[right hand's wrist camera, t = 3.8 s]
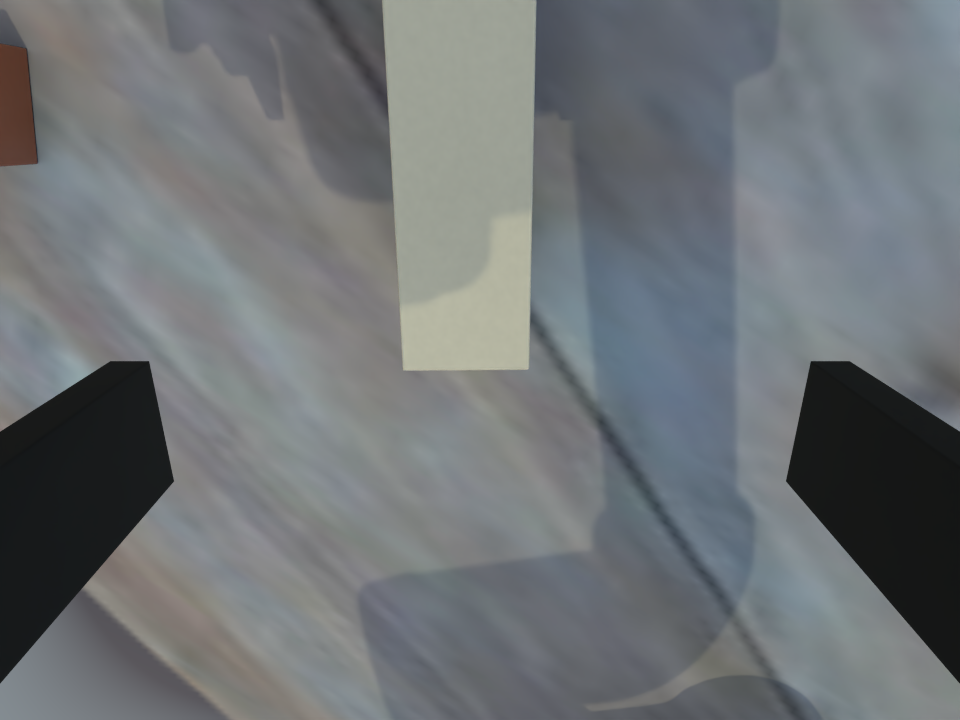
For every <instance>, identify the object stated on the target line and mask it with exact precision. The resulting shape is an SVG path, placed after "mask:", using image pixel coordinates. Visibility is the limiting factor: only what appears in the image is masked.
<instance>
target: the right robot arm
mask: <svg viewBox="0 0 960 720" xmlns="http://www.w3.org/2000/svg"><path fill="white" fill-rule="evenodd" d="M173 482H174V479H173V475H172V470H171V465H170V460H169V455H168V450H167V446H166V441H165V436H164V431H163V426H162V422H161V417H160V412H159V407H158V402H157V397H156V393H155V388H154V383H153V378H152V373H151V369H150V364H149V361H110V362H109V363H107V364H105V365H104V366H102V367H101V368H99V369H98V370H96V371H95V372H93V373H91V374H90V375H88V376H87V377H85V378H84V379H82V380H80V381H79V382H77V383H76V384H74V385H73V386H71V387H69V388H68V389H66V390H65V391H63V392H62V393H60V394H58V395H57V396H55V397H54V398H52V399H51V400H49V401H48V402H46V403H44V404H43V405H41V406H40V407H38V408H37V409H35V410H33V411H32V412H30V413H29V414H27V415H26V416H24V417H22V418H21V419H19V420H18V421H16V422H15V423H13V424H12V425H10V426H8V427H7V428H5V429H4V430H2V431H1V432H0V683H1V682H2V681H3V680H4V678H5V677H6V676H7V675H8V674H9V672H10V671H11V670H12V669H13V668H14V667H15V666H16V664H17V663H18V662H19V661H20V660H21V659H22V657H23V656H24V655H25V654H26V653H27V652H28V650H29V649H30V648H31V647H32V646H33V645H34V643H35V642H36V641H37V640H38V639H39V638H40V637H41V635H42V634H43V633H44V632H45V631H46V629H47V628H48V627H49V626H50V625H51V624H52V623H53V621H54V620H55V619H56V618H57V617H58V616H59V614H60V613H61V612H62V611H63V610H64V609H65V607H66V606H67V605H68V604H69V603H70V602H71V600H72V599H73V598H74V597H75V596H76V595H77V593H78V592H79V591H80V590H81V589H82V588H83V586H84V585H85V584H86V583H87V582H88V581H89V580H90V578H91V577H92V576H93V575H94V574H95V573H96V571H97V570H98V569H99V568H100V567H101V566H102V564H103V563H104V562H105V561H106V560H107V559H108V557H109V556H110V555H111V554H112V553H113V552H114V550H115V549H116V548H117V547H118V546H119V545H120V543H121V542H122V541H123V540H124V539H125V538H126V536H127V535H128V534H129V533H130V532H131V531H132V529H133V528H134V527H135V526H136V525H137V524H138V523H139V521H140V520H141V519H142V518H143V517H144V516H145V514H146V513H147V512H148V511H149V510H150V509H151V507H152V506H153V505H154V504H155V503H156V502H157V500H158V499H159V498H160V497H161V496H162V495H163V493H164V492H165V491H166V490H167V489H168V488H169V486H170V485H171V484H172V483H173ZM786 482H787V483H788V484H789V485H790V486H791V488H792V489H793V490H794V491H795V492H796V493H797V495H798V496H799V497H800V498H801V499H802V500H803V502H804V503H805V504H806V505H807V506H808V507H809V509H810V510H811V511H812V512H813V513H814V514H815V516H816V517H817V518H818V519H819V520H820V521H821V523H822V524H823V525H824V526H825V527H826V528H827V529H828V531H829V532H830V533H831V534H832V535H833V536H834V538H835V539H836V540H837V541H838V542H839V543H840V545H841V546H842V547H843V548H844V549H845V550H846V552H847V553H848V554H849V555H850V556H851V557H852V559H853V560H854V561H855V562H856V563H857V564H858V566H859V567H860V568H861V569H862V570H863V571H864V573H865V574H866V575H867V576H868V577H869V578H870V580H871V581H872V582H873V583H874V584H875V585H876V586H877V588H878V589H879V590H880V591H881V592H882V593H883V595H884V596H885V597H886V598H887V599H888V600H889V602H890V603H891V604H892V605H893V606H894V607H895V609H896V610H897V611H898V612H899V613H900V614H901V616H902V617H903V618H904V619H905V620H906V621H907V623H908V624H909V625H910V626H911V627H912V628H913V630H914V631H915V632H916V633H917V634H918V635H919V637H920V638H921V639H922V640H923V641H924V642H925V643H926V645H927V646H928V647H929V648H930V649H931V650H932V652H933V653H934V654H935V655H936V656H937V657H938V659H939V660H940V661H941V662H942V663H943V664H944V666H945V667H946V668H947V669H948V670H949V671H950V673H951V674H952V675H953V676H954V677H955V678H956V680H957V681H958V682H959V683H960V432H959V431H958V430H956V429H955V428H953V427H952V426H950V425H948V424H947V423H945V422H944V421H942V420H941V419H939V418H938V417H936V416H934V415H933V414H931V413H930V412H928V411H927V410H925V409H923V408H922V407H920V406H919V405H917V404H916V403H914V402H912V401H911V400H909V399H908V398H906V397H905V396H903V395H902V394H900V393H898V392H897V391H895V390H894V389H892V388H891V387H889V386H887V385H886V384H884V383H883V382H881V381H880V380H878V379H876V378H875V377H873V376H872V375H870V374H869V373H867V372H865V371H864V370H862V369H861V368H859V367H858V366H856V365H855V364H853V363H851V362H850V361H811V364H810V369H809V373H808V378H807V383H806V388H805V393H804V397H803V402H802V407H801V412H800V417H799V422H798V426H797V431H796V436H795V441H794V446H793V450H792V455H791V460H790V465H789V470H788V475H787V479H786Z"/></svg>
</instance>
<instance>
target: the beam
mask: <svg viewBox="0 0 960 720" xmlns="http://www.w3.org/2000/svg"><path fill="white" fill-rule="evenodd" d="M382 8H383V26H384V44H385V61H386V79H387V97H388V114H389V132H390V150H391V167H392V185H393V203H394V220H395V238H396V256H397V273H398V291H399V309H400V327H401V344H402V362H403V370H405V371H411V370H528V369H529V346H530V297H531V247H532V197H533V147H534V97H535V47H536V0H382Z"/></svg>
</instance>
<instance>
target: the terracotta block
mask: <svg viewBox="0 0 960 720" xmlns="http://www.w3.org/2000/svg"><path fill="white" fill-rule="evenodd" d="M28 164H37V153H36V142H35V132H34V122H33V111H32V101H31V91H30V80H29V70H28V60H27V50H26V48H22V47H16V46H11V45H6V44H0V166H14V165H28Z"/></svg>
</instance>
